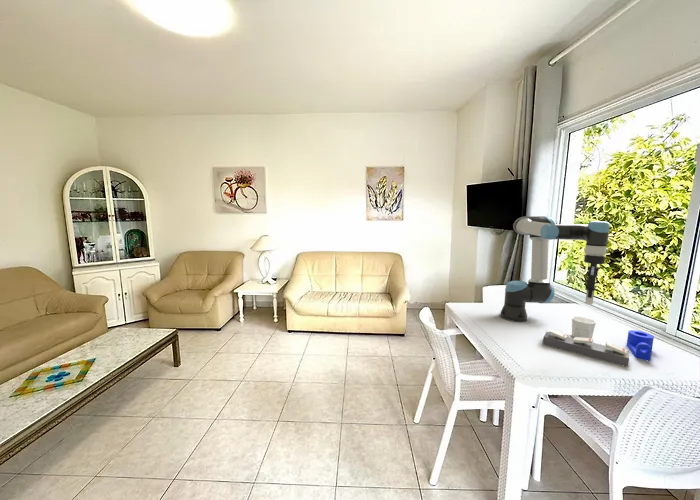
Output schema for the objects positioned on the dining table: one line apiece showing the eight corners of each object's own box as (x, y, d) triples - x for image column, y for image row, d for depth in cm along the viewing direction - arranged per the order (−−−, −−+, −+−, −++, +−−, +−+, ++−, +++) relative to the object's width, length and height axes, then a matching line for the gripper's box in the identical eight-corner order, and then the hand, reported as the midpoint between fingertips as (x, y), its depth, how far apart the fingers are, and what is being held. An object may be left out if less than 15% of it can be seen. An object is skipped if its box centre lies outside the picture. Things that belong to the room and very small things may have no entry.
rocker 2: (574, 342, 144) (573, 339, 144) (575, 339, 147) (574, 336, 147) (592, 343, 139) (591, 340, 139) (593, 340, 142) (592, 337, 142)
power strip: (542, 344, 151) (543, 335, 150) (545, 338, 157) (546, 330, 157) (627, 367, 129) (629, 356, 129) (627, 359, 136) (628, 349, 135)
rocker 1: (548, 333, 150) (549, 330, 150) (550, 330, 154) (551, 328, 153) (564, 340, 146) (565, 337, 146) (566, 337, 149) (567, 335, 149)
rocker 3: (605, 346, 136) (606, 344, 135) (605, 343, 139) (606, 341, 139) (625, 354, 131) (626, 352, 131) (624, 351, 135) (626, 349, 134)
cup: (588, 335, 162) (590, 317, 161) (597, 342, 153) (599, 324, 152) (567, 332, 166) (569, 315, 164) (574, 339, 156) (576, 322, 155)
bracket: (625, 342, 154) (627, 328, 153) (650, 347, 148) (652, 333, 147) (629, 356, 139) (631, 341, 138) (656, 363, 133) (658, 347, 132)
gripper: (605, 257, 129) (598, 308, 132) (606, 253, 139) (599, 301, 143) (583, 255, 134) (577, 305, 137) (586, 252, 144) (580, 298, 148)
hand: (588, 303), depth 140 cm, fingers closed
